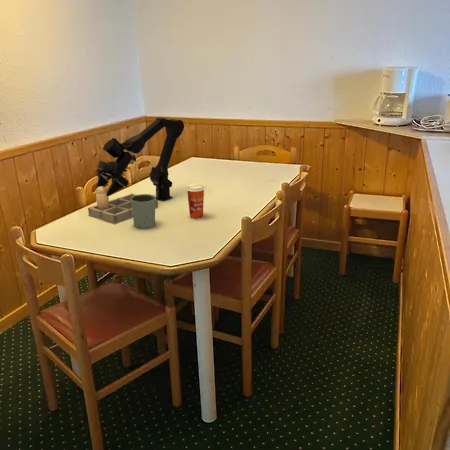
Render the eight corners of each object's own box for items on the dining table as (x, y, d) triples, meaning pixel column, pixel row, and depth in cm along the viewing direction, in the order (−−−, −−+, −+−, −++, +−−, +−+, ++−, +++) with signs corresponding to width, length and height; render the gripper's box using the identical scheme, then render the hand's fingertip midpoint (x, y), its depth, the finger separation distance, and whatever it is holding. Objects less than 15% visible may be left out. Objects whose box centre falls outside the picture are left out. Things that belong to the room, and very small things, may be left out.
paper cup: (191, 221, 186) (190, 189, 181) (185, 215, 192) (183, 184, 187) (208, 217, 189) (207, 186, 184) (201, 212, 196) (200, 182, 191)
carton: (158, 207, 202) (157, 200, 201) (114, 224, 184) (113, 215, 182) (132, 200, 212) (131, 193, 211) (88, 215, 194) (87, 207, 192)
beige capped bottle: (112, 211, 196) (109, 184, 191) (106, 215, 191) (103, 188, 187) (101, 211, 197) (98, 184, 193) (95, 214, 192) (92, 187, 188)
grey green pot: (135, 220, 187) (133, 193, 183) (159, 220, 187) (157, 193, 182) (130, 229, 178) (127, 201, 173) (155, 229, 177) (153, 201, 173)
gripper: (97, 150, 194) (77, 179, 191) (119, 156, 182) (98, 187, 179) (114, 164, 202) (96, 192, 199) (137, 171, 189) (117, 201, 187)
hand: (101, 193), depth 191 cm, fingers open, 9 cm apart
